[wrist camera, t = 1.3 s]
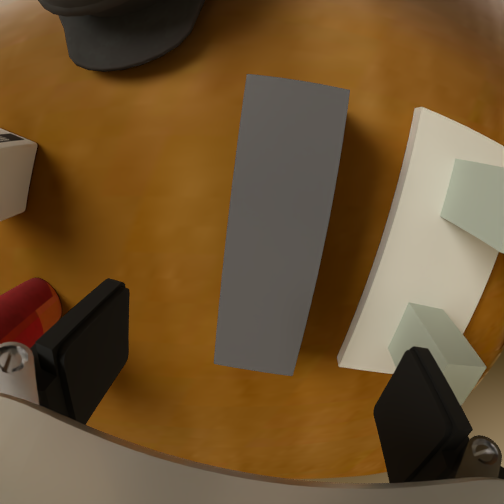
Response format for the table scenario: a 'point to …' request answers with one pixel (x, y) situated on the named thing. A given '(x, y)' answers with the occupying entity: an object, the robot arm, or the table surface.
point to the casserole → (123, 29)
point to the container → (15, 172)
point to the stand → (433, 254)
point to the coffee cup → (28, 312)
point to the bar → (277, 219)
